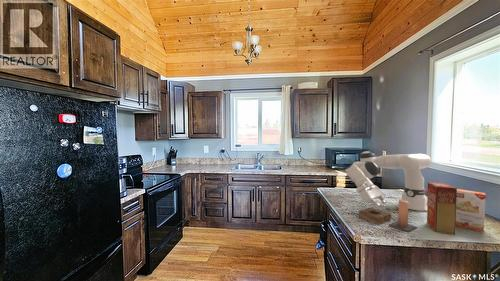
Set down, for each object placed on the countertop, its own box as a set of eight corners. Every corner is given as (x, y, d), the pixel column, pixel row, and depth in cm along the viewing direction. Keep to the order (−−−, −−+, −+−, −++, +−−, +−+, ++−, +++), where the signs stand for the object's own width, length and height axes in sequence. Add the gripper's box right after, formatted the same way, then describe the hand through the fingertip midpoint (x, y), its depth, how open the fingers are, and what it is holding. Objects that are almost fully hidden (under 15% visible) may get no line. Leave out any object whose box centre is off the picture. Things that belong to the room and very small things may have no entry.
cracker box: (449, 224, 130) (451, 189, 129) (450, 221, 134) (451, 187, 133) (484, 232, 120) (486, 194, 119) (483, 229, 124) (485, 192, 123)
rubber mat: (397, 222, 133) (397, 220, 133) (416, 228, 125) (416, 226, 125) (388, 225, 128) (389, 224, 128) (408, 232, 119) (408, 230, 119)
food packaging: (425, 222, 132) (427, 181, 131) (445, 225, 129) (446, 183, 128) (434, 232, 120) (436, 186, 119) (456, 235, 117) (458, 188, 116)
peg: (400, 223, 129) (401, 199, 129) (409, 225, 126) (410, 201, 125) (396, 224, 127) (397, 201, 126) (405, 227, 123) (406, 203, 122)
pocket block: (369, 213, 147) (370, 207, 147) (390, 220, 136) (391, 213, 136) (358, 217, 140) (358, 211, 140) (379, 224, 129) (379, 218, 129)
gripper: (368, 186, 150) (384, 204, 143) (354, 191, 137) (370, 211, 130) (376, 181, 146) (392, 199, 139) (362, 185, 133) (379, 205, 126)
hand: (381, 205), depth 134 cm, fingers open, 8 cm apart
